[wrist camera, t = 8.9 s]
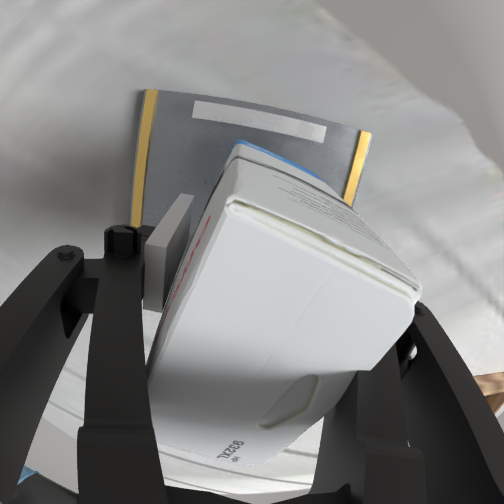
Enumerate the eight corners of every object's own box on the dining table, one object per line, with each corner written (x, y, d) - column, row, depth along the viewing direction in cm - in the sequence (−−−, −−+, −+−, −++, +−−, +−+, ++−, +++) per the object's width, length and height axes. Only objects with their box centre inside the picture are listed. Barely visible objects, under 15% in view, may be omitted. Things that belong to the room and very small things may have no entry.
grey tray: (131, 249, 27) (118, 267, 24) (148, 90, 21) (133, 87, 18) (324, 281, 29) (333, 302, 25) (367, 133, 23) (385, 137, 20)
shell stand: (425, 424, 43) (432, 440, 39) (463, 377, 38) (473, 394, 34) (475, 413, 44) (482, 427, 41) (509, 370, 39) (519, 384, 36)
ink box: (237, 134, 15) (223, 183, 5) (319, 175, 16) (438, 293, 6) (177, 266, 19) (119, 437, 8) (250, 296, 20) (257, 472, 9)
